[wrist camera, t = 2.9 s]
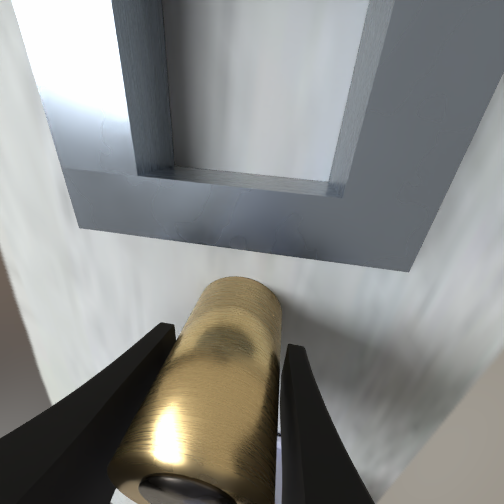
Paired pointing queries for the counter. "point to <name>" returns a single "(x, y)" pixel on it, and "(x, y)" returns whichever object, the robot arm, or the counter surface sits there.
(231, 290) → the bushing
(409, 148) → the plate
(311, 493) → the robot arm
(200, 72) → the counter surface
